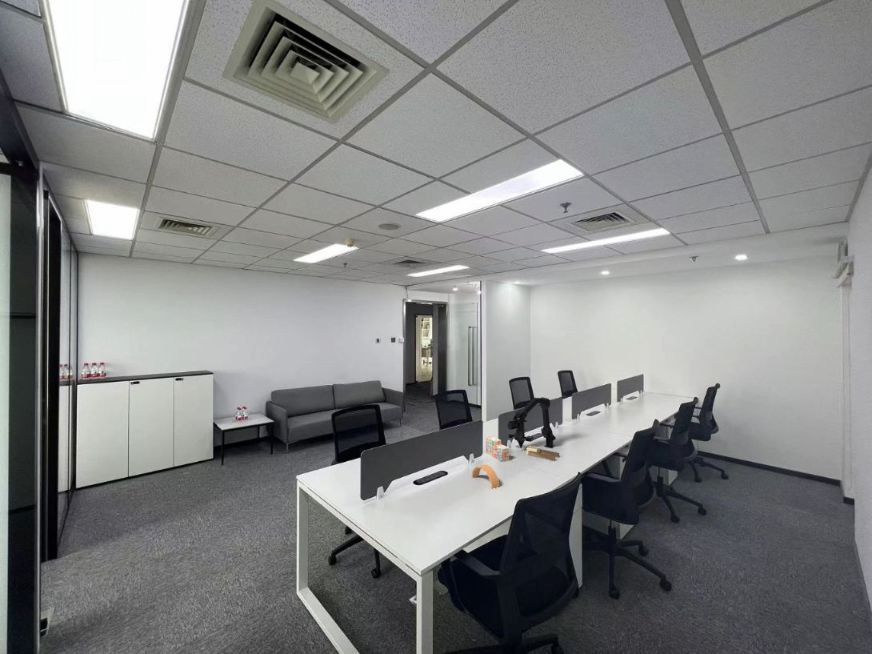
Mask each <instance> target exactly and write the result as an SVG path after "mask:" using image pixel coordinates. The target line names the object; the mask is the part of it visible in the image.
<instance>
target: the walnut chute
mask: <svg viewBox="0 0 872 654" xmlns="http://www.w3.org/2000/svg"><path fill="white" fill-rule="evenodd" d="M527 456H530V457H534V458H538V459H544V460H549V461H553V462H555V461H556V458H560V452H557V451H551V450H547V449H541V448H540V453H537V452H533V451H528V454H527Z"/></svg>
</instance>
